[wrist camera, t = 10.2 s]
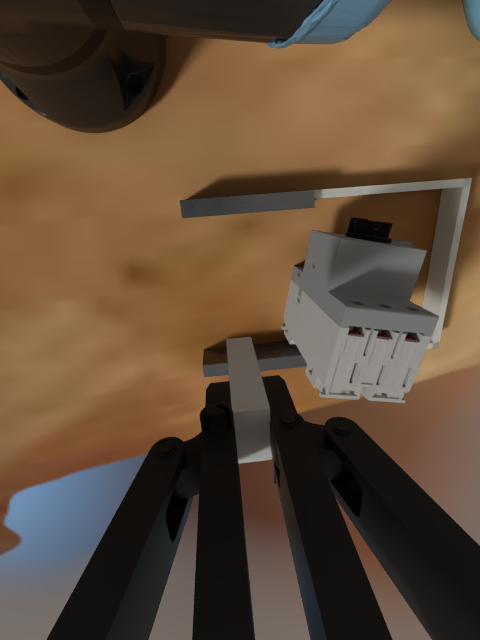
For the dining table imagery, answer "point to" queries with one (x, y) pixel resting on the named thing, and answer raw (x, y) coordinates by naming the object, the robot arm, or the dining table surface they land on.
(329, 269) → the circuit breaker
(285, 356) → the dark gray open bay
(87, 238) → the dining table surface
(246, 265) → the dining table surface
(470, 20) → the decorative pot
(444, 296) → the parts bay
